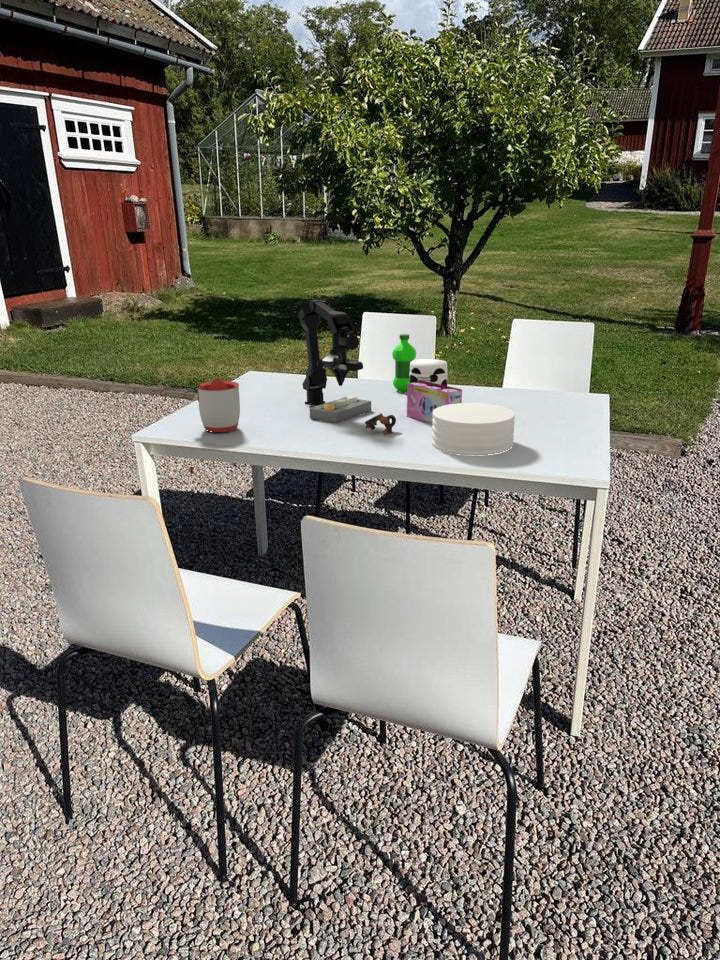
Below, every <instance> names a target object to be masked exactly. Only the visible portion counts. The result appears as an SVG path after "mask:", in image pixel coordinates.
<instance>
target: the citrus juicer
mask: <svg viewBox="0 0 720 960" xmlns="http://www.w3.org/2000/svg"><path fill="white" fill-rule="evenodd" d="M239 389H240V384H239V382H237V381H232V380H230V381H229V380H223V379H221V378H220V377H218V376H216V377H215V378H214V379H213V381H207V382H201V383H200V384H199V383H198V387H197V390H196V391H197V393H196V394H194V397H193V399H192V401H198V410H199V416H200V420H201V423H202V425H203V428H204V429H205V431H206V430H208V431H212V432H214V433H215V432H221V433H229V432H228V431H231V432H232V431H235V430H237V428H238V425H239V421H240V416H241V415H240V414H241V404H240V403H241V401H240V390H239ZM208 431H207V432H208Z"/></svg>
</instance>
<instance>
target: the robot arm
mask: <svg viewBox="0 0 720 960" xmlns="http://www.w3.org/2000/svg"><path fill="white" fill-rule="evenodd" d="M321 317H322V318H323V319H324V320H326V321H327V325H328V327H330V329H331V330H330V331H329V334H331V343H332V344H331V345H332V346H331V347H332V348H331V349H330V350H329V354H327V355H326V356H325V357H321V356H320V346H319V338H318V328H319V326H320V322H321ZM298 319H299V323H300V325H301V327H302V328H303V330H304V331H305V332H304V333H305V340H306V341H305V343H306V351H307V359H308V360H307V361H308V367H307V369H306V371H305V378H304V380H303V382H302V383H301V384H302V388H303V390H306V401H304V404H306V403H307V405H313V406H319V405H322V404H325V403H326V401H325V400H324V392H323V389H327V382H328V377H327V369H328V370H329V371H331V372H332V373H333V374H334V376H335V379H336V381H337V383H338V384H337V385H338V387H342V386H343V384H344V381H345V380H346V378H347V375H348V373H349V372H357V371H361V370H364V363H363V362H362V361H357V360H353V361H350V358H348V352H349V351H354V350H357V348H358V347H359V345H360V339H359V338H358V336H357V335H355V330H354V326H353V323H352V321H351V319H350V316H349V315H348V313H346V312H343V311H336V310H335V309H333V308H331V306H329V305H328V304H326V303H324V301H323V300H312V301H310V302H309V303H308V304H307V305H305V306H303V307H302V308H300V310H299V311H298ZM320 357H321V358H320ZM326 368H327V369H326Z"/></svg>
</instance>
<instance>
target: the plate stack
mask: <svg viewBox="0 0 720 960" xmlns="http://www.w3.org/2000/svg"><path fill="white" fill-rule="evenodd" d="M432 416H433V419H432V423H431V424H432V426H431V430H432V432H431V446H432V445H433V446H434V447H435V448H436V449H435V448H434V447H433V446H432V447H433V448H434V449H435V450H437V449H438V451H439V450H441V451H440V452H442V451H444V452H443V453H445V452H447V453H446V454H448V453H452V454H451V455H453V454H460V455H488V454H495V453H500V452H503V451H506V450H508V449H510V448H511V447H512V446H513V447H514V439H515V438H514V436H515V435H514V434H515V417H516V413H515V412H514V410H512V409H510V408H509V407H506V406H501V405H497V404H490V403H482V402H463V403H458V404H449V405H444V406H441V407H438V408H436V409H434V410H433V412H432ZM460 455H459V456H460Z"/></svg>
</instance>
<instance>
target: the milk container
mask: <svg viewBox="0 0 720 960" xmlns="http://www.w3.org/2000/svg"><path fill="white" fill-rule="evenodd" d="M409 376H410V382H409V383H417V381H418V380H422V381H427V382H431V383H436V384H440V385H444V386H449V385H448V363H447V361H446V360H442V359H434V358H424V359H423V358H422V359H421V358H420V359H414V360H413V361H411V362H410V373H409Z"/></svg>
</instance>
